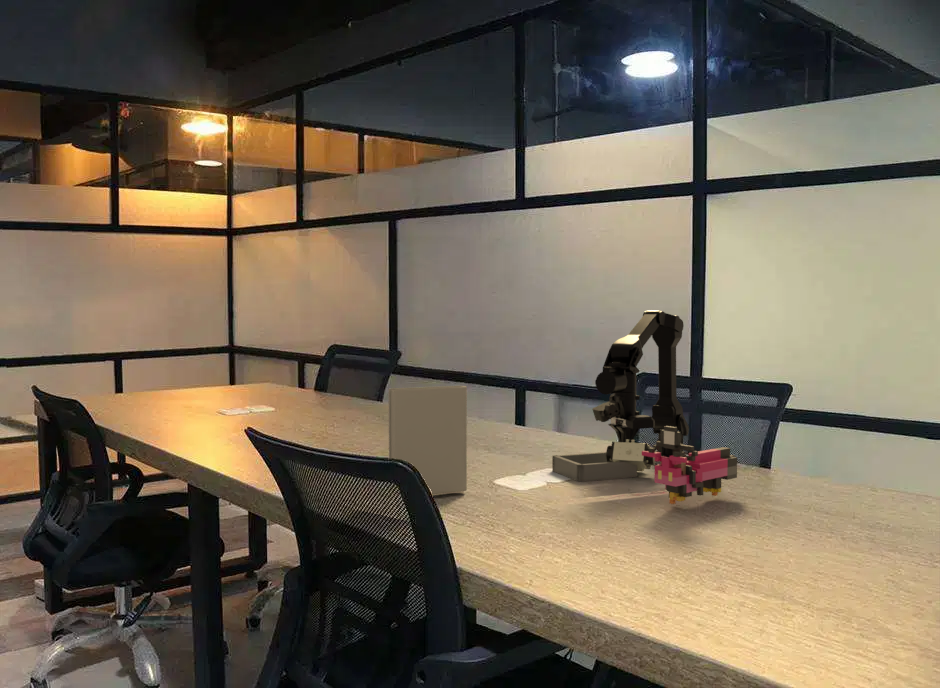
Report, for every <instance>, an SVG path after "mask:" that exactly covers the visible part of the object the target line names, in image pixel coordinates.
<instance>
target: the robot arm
mask: <svg viewBox="0 0 940 688" xmlns="http://www.w3.org/2000/svg"><path fill="white" fill-rule="evenodd" d="M683 330H684V320H683V319H681V318H680V316H679V315H674V314H669V313H666V312H665V311H664V310H658V309H657V310H655V309H654V310H652V309H651V310H650V309H649V310H645V311H643V314H642V317H641V318H640V319H639V320H638V322H637V323H636V325H634V327H633V328H632V329H631V331H630V332H629V333H628V334H627V335H626V336H623V337H621V338H618V339H617V340H615V341H614V342H613V343H612V344H611V346H610V348H609V350H608V352H607V355H606V358H605V360H604V363H603V366H602V371H601V372H600V373H598V375H597V376H596V379H595V380H594V381H595V387H596V390H597V391H598V393H600V394H602V395H610V396H608V398H609V401H605V402H603V403H601V404H598V405H597V406H595V407H593V408H592V413H593V416H594V419H595V421H597V422H598V421H599V422H601V423H606V422H608V421H609V420H610V423H608V424H607V425H608V426H609V427H611V428H612V429H613V431H614V432H615V434H616V435H617V436H616V437H617V439H618V442H626V439H629V443H631V442H632V441H631V440H635V436H636V435H637V434H638V432H639V430H641V429H652V430H653V434H656V435H657V436H658V437H657V438H658V439H657V440H656V441H660V430H664V426H671V427H677V432H681V444H682V445H684V437H685V436H688V435H689V432H690V426H689V424H688V421H687V420H686V418H685V416H684V410H683V409H684V408H683V406H682V404H681V402H680V401H679V399H678V398H677V395H678V394H677V346H678V344H679V343H680V341H681V339H682V337H683ZM651 337H652V340H653V341H654V343H655V345H656V347H657V348H658V349H657V350H658V351H657V353H658V355H657V356H658V359H657V361H658V399H657V401H656V403H655V404H654V405H652V408H651V415H650V416H649V415H645V414H640V411H637V400H638V401H639V400H641V398H640V397H641V396H640V395H637V374H639V373H640V369H639V367H637V366H638V364H639V363H640V361H641V359H642V358H643V355H644V352H643V348H644V346H645V345H646V344H647V342H648V341H649V340H650V338H651ZM656 451H657V452H661V456H665V457H670V456H671V455H673V449H668V448H664V447H661V446H659V450H656ZM682 452H684V450H682ZM685 456H687V454H685Z"/></svg>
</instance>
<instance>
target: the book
mask: <svg viewBox="0 0 940 688" xmlns="http://www.w3.org/2000/svg"><path fill="white" fill-rule="evenodd" d="M467 390H468V387H467V386H466V385H445V386H443V385H442V386H441V385H440V386H423V387H398V388H396V387H395V388H388V459H389V458H398V459H402V460H406V461H408V462H410V463H412V464H413V465H414V466H415V467H416V468H417V469H418V470H419V471H420V473H421V474H422V476H423V478H424V479H425V481H426V483H427V485H428V486H429V488H430V489H431V491H432V494H433V496H434V495H442V494H443V495H444V494H452V493H453V494H454V493H461V492H466V491H468V489H467V488H468V487H467V483H468V482H467V478H468V477H467V469H468V468H467V467H468V466H467V465H468V464H467V459H468V458H467V457H468V455H467V454H468V453H467V451H468V450H467V449H468V447H467V446H468V445H467V444H468V443H467V441H468V439H467V436H468V435H467V431H468V429H467V428H468V427H467V424H468V422H467V420H468V419H467V418H468V417H467V416H468V414H467V412H468V411H467V409H468V407H467V400H468V399H467V397H468V396H467V393H468V391H467Z"/></svg>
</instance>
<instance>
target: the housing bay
mask: <svg viewBox="0 0 940 688" xmlns="http://www.w3.org/2000/svg"><path fill="white" fill-rule="evenodd" d="M551 472H554V473H555V474H559V475H561V476H564V477H566V478H568V479H572V480H574V481H576V482H578V483H580V482H592V481H602V480H603V481H604V480H617V479H628V478H629V479H631V478H637V477H638V471H637V465H634V464H631V463H628V462H622V461H617V462H607V459H606V451H601V452H586V453H585V452H584V453H571V454H558V455H557V454H556V455H552V471H551Z"/></svg>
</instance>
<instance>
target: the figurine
mask: <svg viewBox="0 0 940 688" xmlns="http://www.w3.org/2000/svg"><path fill="white" fill-rule="evenodd" d="M659 446H661V447H664V448H668V449H673V455H671V456H670V457H665V456H661V452H657V450H659ZM682 450H683V452H682ZM686 451H688V455H686ZM685 455H686V456H685ZM642 456H648V457H654V458H655V461H656V462H659V464H655V466H654V483H655V484H660V485H665V488H664V489H665V490H666V492H668V499H669V502H668V503H669V504H671V505H675V504H676V502H684V501H686V498H689V497H692V496H693V493H694V492H696V495H697V496H704V493H711V496H713V497H717V496H718V495H719V494H718V493H721V492H722V480H734V479H738V457H737V456H736V455H734V454H731V447H726V446H725V447H724V446H723V447H722V446H721V447H717V448H711V449H710V448H709V449H704V450H699V451H697V450H695V445H694V446H693V445H687V444H683V445H682V444H681V432H677V427H671V426H664V429H663V430H660V441H657V440H656V442H655V444H654V445H652V447H651V448H649V451H642Z"/></svg>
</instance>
